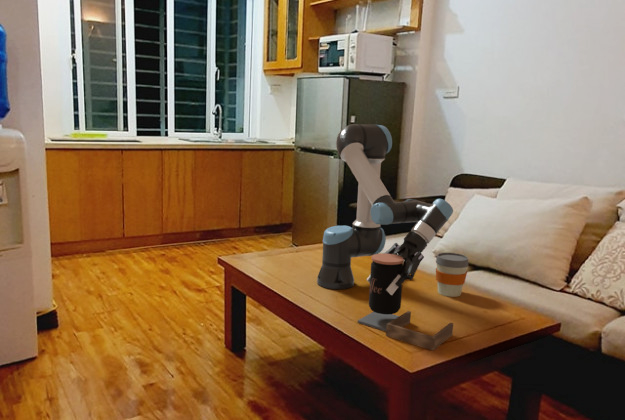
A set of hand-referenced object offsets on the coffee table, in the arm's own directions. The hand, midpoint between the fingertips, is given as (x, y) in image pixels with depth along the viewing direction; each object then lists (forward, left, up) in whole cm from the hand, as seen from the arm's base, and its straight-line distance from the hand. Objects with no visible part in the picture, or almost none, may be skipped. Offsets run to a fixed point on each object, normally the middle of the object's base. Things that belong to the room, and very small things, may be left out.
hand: (378, 287), depth 176 cm
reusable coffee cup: (+6, +47, -13) cm, 49 cm away
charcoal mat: (+1, +3, -13) cm, 13 cm away
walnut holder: (+15, +1, -13) cm, 20 cm away
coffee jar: (+1, +3, -8) cm, 9 cm away
